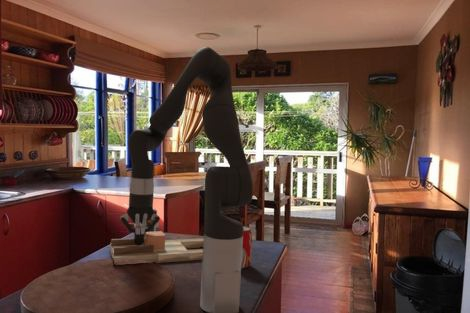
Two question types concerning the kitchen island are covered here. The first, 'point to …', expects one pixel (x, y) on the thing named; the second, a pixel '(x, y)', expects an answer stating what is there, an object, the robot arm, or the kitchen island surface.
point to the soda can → (246, 247)
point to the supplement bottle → (155, 224)
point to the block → (155, 239)
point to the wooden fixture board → (171, 253)
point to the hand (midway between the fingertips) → (138, 244)
